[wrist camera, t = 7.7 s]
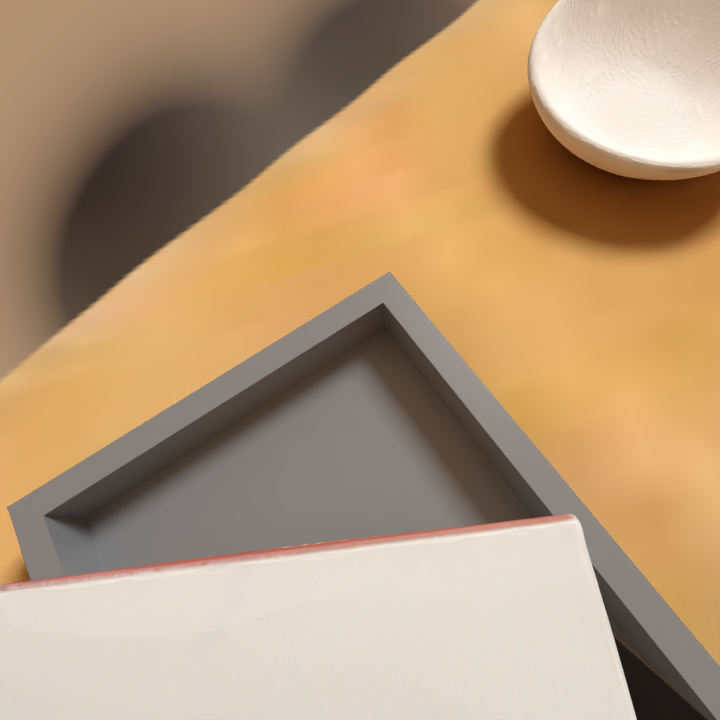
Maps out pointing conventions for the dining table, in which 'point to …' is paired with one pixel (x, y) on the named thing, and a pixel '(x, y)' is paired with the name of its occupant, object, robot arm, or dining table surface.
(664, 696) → the robot arm
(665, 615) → the tray
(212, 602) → the small box
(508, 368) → the dining table surface
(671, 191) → the dining table surface
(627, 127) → the spoon rest
